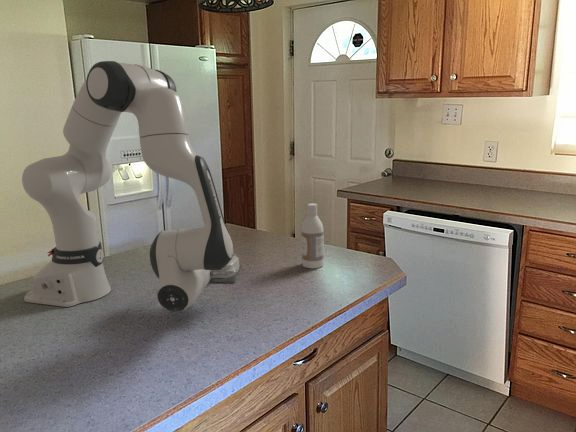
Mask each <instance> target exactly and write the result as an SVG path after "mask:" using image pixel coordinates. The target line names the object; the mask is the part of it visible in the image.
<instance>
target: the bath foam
mask: <svg viewBox="0 0 576 432" xmlns="http://www.w3.org/2000/svg"><path fill="white" fill-rule="evenodd" d="M320 219H321V218H320V217H319V216H318V203H311V202H310V203H308V204H307V216H306V218H304V221H303V223H302V225H301V265H302V267H304V268H306V269H311V270H312V269H313V270H314V269H320V268H322V267H323V266H324V262H325V260H324V259H325V258H324V257H325V255H324V254H325V248H324V247H325V246H324V245H325V244H324V240H325V239H324V237H325V236H324V234H325V232H324V225H323V222H322V220H320Z"/></svg>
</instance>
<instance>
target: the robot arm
mask: <svg viewBox="0 0 576 432" xmlns="http://www.w3.org/2000/svg"><path fill="white" fill-rule="evenodd" d="M72 103H73V104H72V106H71V107H70V111H69V113H68V116H67V117H66V121H65V122H64V125H63V127H62V128H63V129H62V135H63V136H64V139H65V141H67V143H68V144H69V147H68V150H67V151H66V153H64V154H63V155H58V156H53V157H46V158H42V159H39V160H38V161H37V160H36V161H34V162H33V163H31V164H28V165H27V166H26V167H25V168H24V169H23V172H22V175H21V176H22V177H21V184H22V187H23V189H24V191H25V192H26V194H27V195H28V196H29V197H30V198H31V199H32V200H34V201H36V202H37V203H39V204H40V205H41V206H42V207H43V208H44V209H45V212H46V213H47V214H48V216H49V220H50V221H51V225H52V229H53V235H54V241H55V247H53V248H51V250H50V251H47V257H51V256H52V257H51V260H50V261H49V262H48V263H47V264H46V265H45V266H44V267H42V268H41V269H40V270H39V271H37V273H36V274H35V275H34V277H33V279H32V285H31V286H32V289H31V290H29V291H28V292H26V294H25V296H23V297H24V303H31V304H39V305H49V306H57V307H64V308H65V307H66V308H69V307H72V306H75V305H79V304H82V303H87V302H91V301H95V300H99V299H100V298H102V297H105V296H107V295H108V294H109V293H110V292H111V290H112V287H111V285H110V282H109V280H108V277H107V275H106V272H105V267H104V254H103V247H102V242H101V241H100V236H99V227H98V218H97V216H96V214H95V213H94V212H93V211H91V210H88V209H86V207H85V206H84V204H83V202H82V200H81V195H82V194H86V193H87V194H88V193H90V192H93V191H96V190H98V189H99V188H101V187H103V186H104V185H106V184H107V183H108V182H109V180H110V178H111V175H112V172H111V166H110V163H109V161H108V159H107V158H106V155H107V154H106V153H107V148H108V145H109V142H110V140H111V138H112V136H113V133H114V131H115V128H116V126H117V124H118V121H119V119H120V117H121V114H122V113H124V112H125V113H131V114H133V115H134V116H135V117H136V120H137V124H138V133H139V134H138V135H139V144H140V152H141V157H142V159H143V162H144V163H145V165H146V166H147V167H148V168H149V170H151V171H153V172H154V173H156V174H158V175H160V176H162V177H166V178H170V179H173V180H176V181H180V182H182V183H185V184H186V185H189V187H190V188H192V190H194V193H195V195H196V196H195V197H196V198H197V201H198V206H199V209H200V212H201V217H202V219H203V224H204V226H202V227H195V228H178V229H176V228H175V229H168V230H161V231H160V232H158V234H157V235H156V236H155V238H154V240H153V241H152V243H151V245H150V248H149V260H150V266H151V268H152V270H153V273H154V274H155V276H156V277H157V279H158V286H157V289H156V297H157V301H158V303H159V305H160V306H162V308H164V309H165V310H167V311H170V312H176V313H177V312H182V311H185V310H187V309H189V307H192V305H193V304H195V303H196V301H197V300H198V298H199V297H200V295H201V294H202V292H203V291H204V289H205V288H206V287H207V285H208V284H209V283H210V282H209V281H210V279H211V277H212V278H227V277H231V276H233V275H234V274H235V273H236V272H237V271H238V270H239V266H240V259H239V257H238V256H237V255H236V256H233V252H234V244H233V241H232V237H231V235H230V232H229V230H228V227H227V224H226V221H225V218H224V215H223V211H222V207H221V204H220V201H219V197H218V196H219V195H218V192H217V190H216V186H215V184H214V183H215V181H214V179H213V176H212V173H211V170H210V167H209V165H208V164H207V161H206V159H205V158H204V157H203V156H200V155H198V154H197V153H196V151H195V149H194V148H193V146H192V143H191V140H190V131H189V125H188V118H187V114H186V111H185V107H184V104H183V103H184V102H183V100H182V98H181V96H180V94H179V93H178V92H177V86H176V83H175V80H174V79H173V78H172V77H171V76H170V75H169V74H167V73H166V72H163V71H161V70H159V69H153V68H150V67H147V66H144V65H141V64H132V63H125V62H117V61H114V60H104V61H98V62H96V63H94V64H93V65H91V68H90V69H89V71H88V73H87V76H86V79H85V81H84V82H83V84H82V85H81V87H80V89H79V90H78V93H77V94H76V96H75V98H74V101H73V102H72Z"/></svg>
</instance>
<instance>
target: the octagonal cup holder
mask: <svg viewBox="0 0 576 432" xmlns="http://www.w3.org/2000/svg"><path fill="white" fill-rule="evenodd" d="M233 256H236V257H237V254H236V252H234V251H233ZM243 269H244V268H243V265H239V270H238V271H237V272H236V273H235V274H234V275H233V276H231V277H227V278H212V277H211V279H210V281H209V282H208V283H219V284H220V283H222V284H223V283H224V284H225V283H226V284H227V283H228V284H231V283H233V284H235V283H236V281H237V280H238V278H239V276H240V274H241V272H242V271H243Z"/></svg>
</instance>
